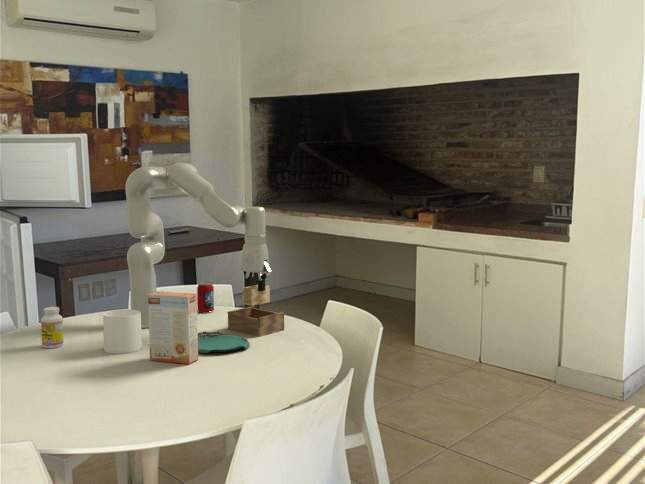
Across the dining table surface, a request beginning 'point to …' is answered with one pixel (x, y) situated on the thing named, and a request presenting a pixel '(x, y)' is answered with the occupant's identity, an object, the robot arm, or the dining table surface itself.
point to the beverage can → (205, 297)
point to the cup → (122, 331)
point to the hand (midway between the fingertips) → (256, 289)
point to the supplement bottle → (52, 328)
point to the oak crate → (255, 295)
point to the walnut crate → (255, 321)
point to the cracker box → (173, 327)
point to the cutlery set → (220, 342)
